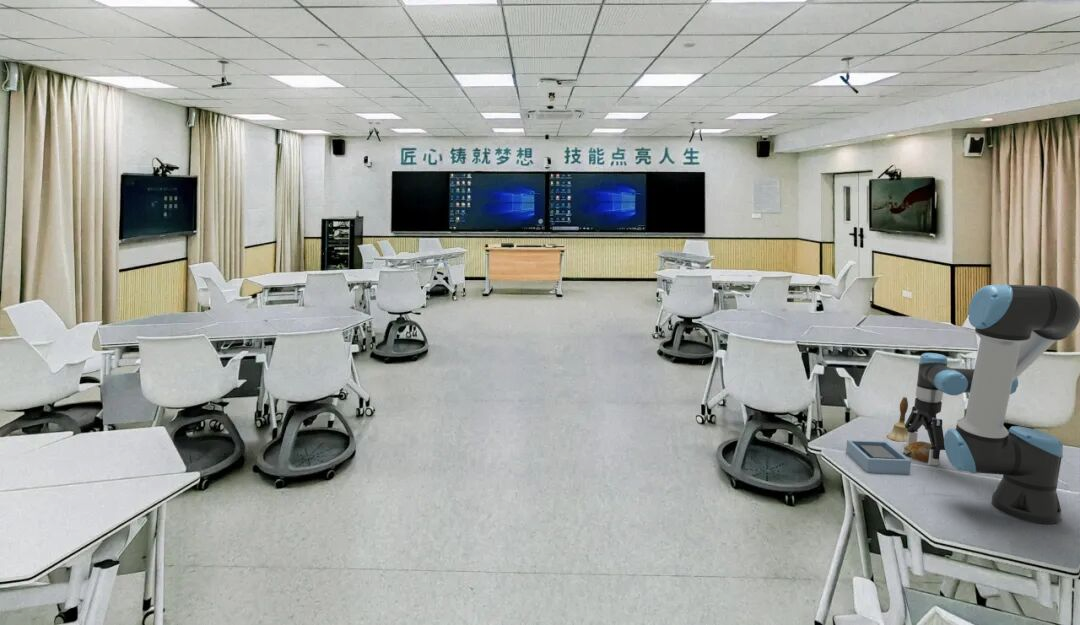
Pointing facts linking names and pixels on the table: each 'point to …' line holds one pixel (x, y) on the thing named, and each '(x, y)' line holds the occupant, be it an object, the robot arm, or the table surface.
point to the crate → (877, 464)
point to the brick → (876, 452)
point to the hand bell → (900, 424)
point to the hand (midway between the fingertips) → (921, 458)
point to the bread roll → (918, 451)
